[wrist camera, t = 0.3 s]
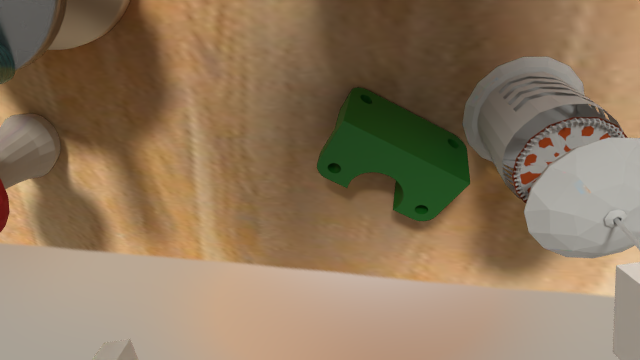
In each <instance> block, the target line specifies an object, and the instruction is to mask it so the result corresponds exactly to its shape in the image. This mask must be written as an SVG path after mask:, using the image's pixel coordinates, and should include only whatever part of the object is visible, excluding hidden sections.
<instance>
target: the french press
mask: <svg viewBox="0 0 640 360" xmlns="http://www.w3.org/2000/svg"><path fill="white" fill-rule="evenodd" d="M586 99H587V100H586ZM588 104H590V105H591V106H589V105H588ZM595 106H596V107H598V109H599V112H600V113H599V112H597V111H596V108H595ZM603 111H604V112H605V113H606V114H607V115H608V118H609V120H610V121H609V120H608V119H607V118H605V115H604V112H603ZM462 125H463V128H464V131H465V135H466V138H467V141H468V144H469V145H470V146H471V147H472V148H473V149H474V150H475V151H476V152H477V153H478V154H479V155H480V156H481V157H482V158H484V159H487V160H489V161H492V162H493V163H494V165H495V164H496V165H495V166H496V167H497V170H498V172H499V174H500V176H501V177H502V179H503V181H504V182H505V184H506V185H507V186H508V188H509V189H510V190H511V191H512V192H513V193H514V194H515V195H516V196H517V197H518V198H520V199H522V200H523V201H524V202H525V203H526V206H525V210H524V214H525V218H526V222H527V226H528V231H529V233H530V234H531V235H532V236H533V237H534V238H535V239H536V240H537V241H538V243H539V244H540V245H541V246H542V247H543V248H545V249H547V250H550V251H552V252H555V253H557V254H560V255H562V256H565V257H577V258H597V257H601V256H606V255H610V254H614V253H619V252H623V251H625V250H627V249H629V248H630V247H632V246H634V245H635V246H636V247H637V248H638V249H639V250H640V138H628V137H627V136H626V135H625V134H624V132H623V130H622V128H621V127H620V125H619V124H618V122H617V121H616V120H615V119H614V118H613V117H612V116H611V115H610V114H608V113H607V112H606V111H605V110H604V109H603V108H601V107H600V106H599V105H597V104H595V103H594V102H593V101H591V100H590V99H589V98H588V97H585V95H584V89H583V83H582V82H581V80H580V79H579V78H578V76H577V75H576V74H575V73H574V71H573V70H572V69H571V67H570V66H568V65H566V64H564V63H561V62H559V61H557V60H554V59H552V58H550V57H521V58H519V59H516V60H513V61H511V62H508V63H505V64H503V65H500V66H498V67H496V68H495V69H494V70H493V71H492V72H490V73H489V74H488V75H487V76H486V77H484V78H483V79H482V80H481V81H479V82H478V83H477V85H476V87H475V89H474V90H473V92H472V94H471V95H470V97H469V99H468V100H467V102H466V104H465V111H464V117H463V124H462ZM503 165H507V166H509V167H510V168H513V171H512V170H510V169H509V168H507V167H505V166H503ZM503 168H505V169H506V170H508V171H510V172H511V173H513V174H512V175H511V174H509V173H507V172H506V171H505V170H504V169H503ZM503 172H504V173H505V174H507V175H508V176H510V177H512V179H513V181H512V180H511V179H510V178H509V177H507V176H506V175H505V174H503ZM506 179H507V180H508V181H510V182H512V183H513V184H514V186H513V185H511V184H510V183H509V182H508V181H507V180H506Z"/></svg>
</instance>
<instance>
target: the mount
mask: <svg viewBox="0 0 640 360" xmlns="http://www.w3.org/2000/svg"><path fill="white" fill-rule="evenodd" d="M129 2H130V0H67V6H66V11H65V16H64V20H63V22H62V25H61V28H60V30H59V33H58V34H57V36H56V38H55V40H54V41H53V43H52V45H51V46H50V47H49V48H48V49H47V50H63V49H70V48H74V47H78V46H81V45H84V44H86V43H89V42H92V41H94V40H96V39H98V38H100V37H102V36H103V35H105V34H106V33H107V32H109V31H110V30H111V29H112V28H113V27H114V26H115V25H116V24H117V23H118V22H119V20H120V19H121V17H122V16H123V14H124V13H125V11H126V9H127V7H128V5H129Z"/></svg>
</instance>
